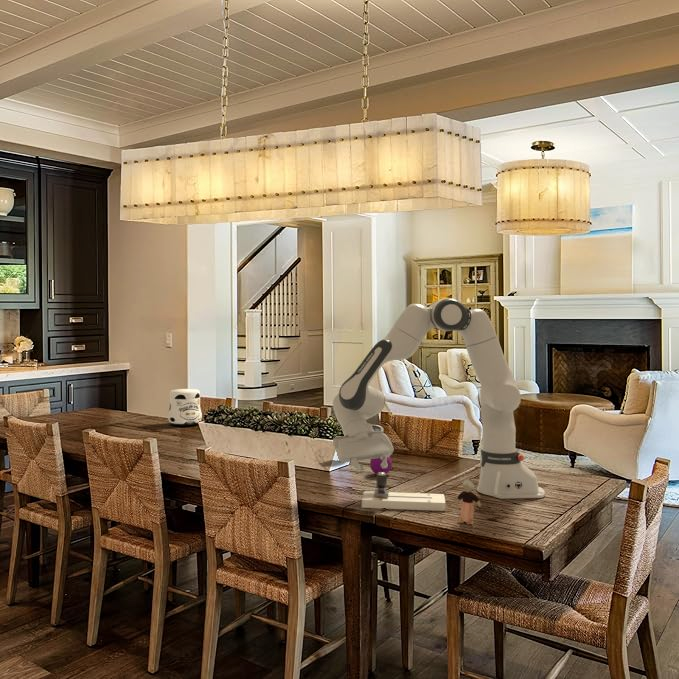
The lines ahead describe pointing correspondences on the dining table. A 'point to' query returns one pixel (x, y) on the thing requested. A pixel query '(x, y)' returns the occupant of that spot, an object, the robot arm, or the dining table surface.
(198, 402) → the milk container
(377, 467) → the christmas ornament
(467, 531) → the dining table surface
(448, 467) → the dining table surface
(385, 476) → the fader
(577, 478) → the dining table surface
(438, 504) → the fader console
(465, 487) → the grandmother figurine
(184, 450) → the dining table surface
